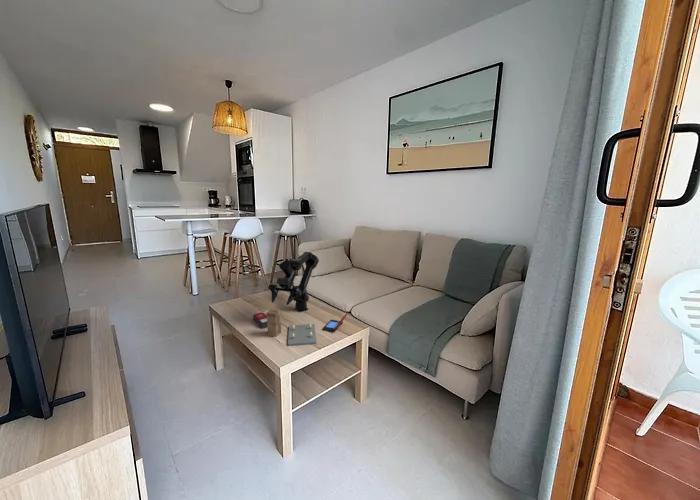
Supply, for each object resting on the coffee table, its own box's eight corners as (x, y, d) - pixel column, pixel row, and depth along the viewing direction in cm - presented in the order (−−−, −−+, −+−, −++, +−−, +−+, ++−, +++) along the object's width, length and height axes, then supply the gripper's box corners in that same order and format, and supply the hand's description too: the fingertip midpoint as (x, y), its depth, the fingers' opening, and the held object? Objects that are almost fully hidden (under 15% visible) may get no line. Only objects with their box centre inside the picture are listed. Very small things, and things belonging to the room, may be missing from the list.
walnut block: (272, 331, 158) (271, 308, 155) (281, 332, 156) (280, 309, 154) (267, 335, 153) (266, 312, 150) (276, 336, 152) (275, 313, 149)
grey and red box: (270, 309, 178) (280, 316, 166) (270, 316, 179) (280, 323, 167) (252, 313, 172) (261, 321, 160) (253, 320, 172) (262, 329, 160)
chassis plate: (289, 327, 162) (289, 321, 161) (314, 325, 165) (314, 319, 164) (287, 346, 143) (287, 339, 142) (316, 343, 145) (316, 337, 145)
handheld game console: (331, 321, 171) (331, 309, 169) (348, 324, 167) (348, 312, 166) (321, 330, 159) (321, 318, 158) (339, 334, 156) (339, 321, 154)
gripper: (269, 270, 164) (258, 294, 155) (299, 273, 159) (289, 298, 150) (276, 280, 173) (267, 303, 164) (305, 283, 167) (296, 308, 159)
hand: (279, 303), depth 159 cm, fingers open, 9 cm apart
